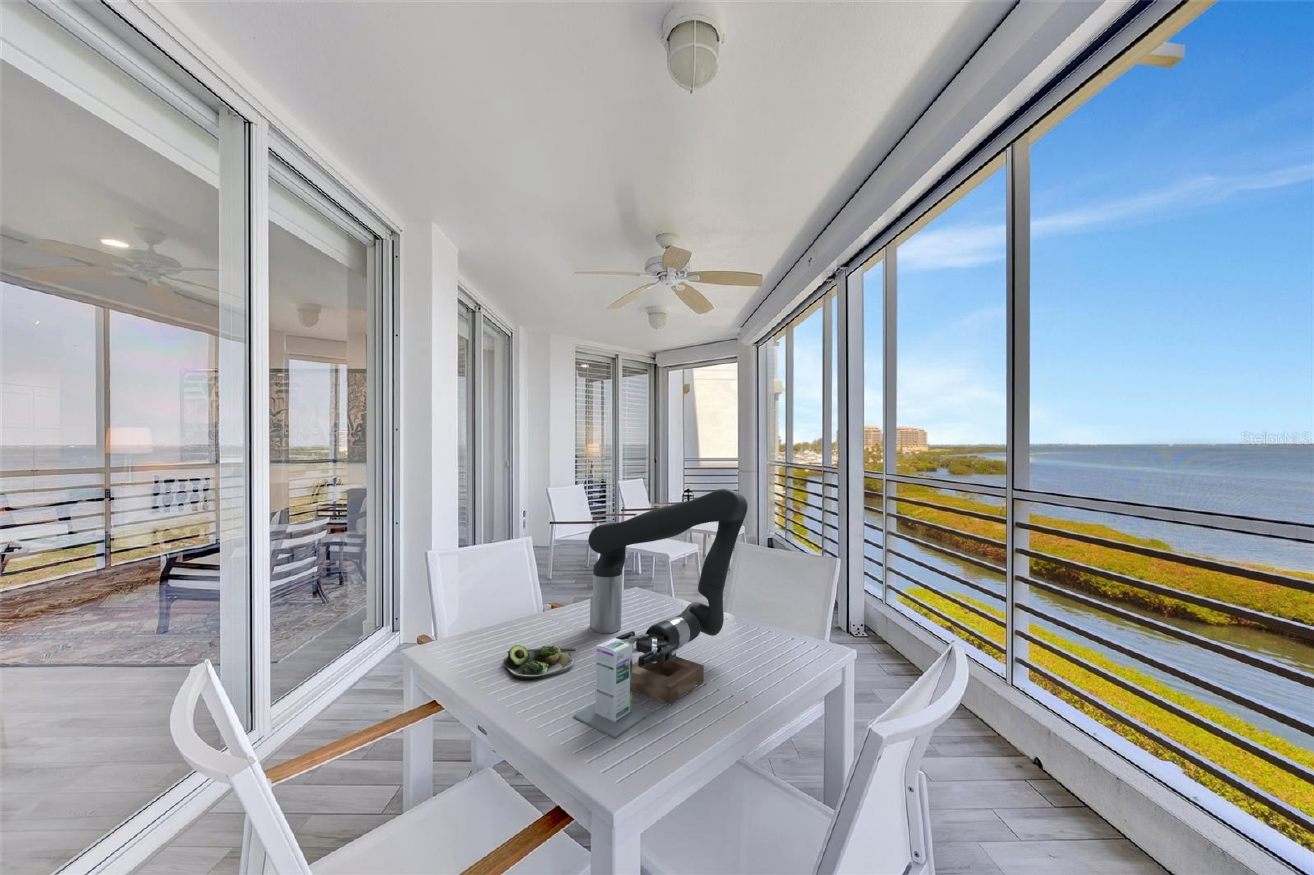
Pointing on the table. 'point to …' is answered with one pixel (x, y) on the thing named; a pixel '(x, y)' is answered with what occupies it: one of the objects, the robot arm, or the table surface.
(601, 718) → the mat
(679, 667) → the socket block
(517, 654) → the salad plate
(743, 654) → the table surface
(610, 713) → the syrup box
